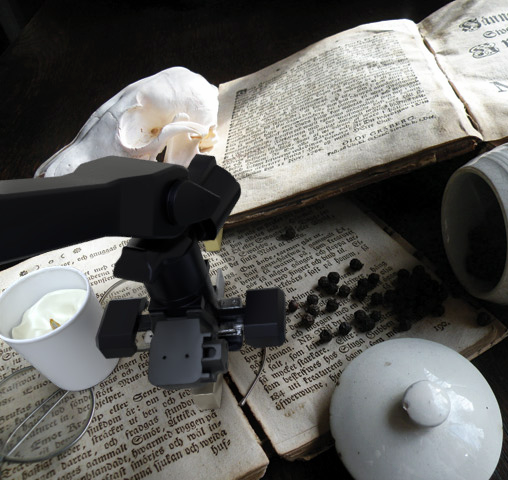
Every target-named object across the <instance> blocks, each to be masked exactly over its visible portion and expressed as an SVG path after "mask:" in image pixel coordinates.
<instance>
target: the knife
mask: <svg viewBox="0 0 508 480" xmlns="http://www.w3.org/2000/svg"><path fill="white" fill-rule="evenodd" d="M215 285H217V288H218V291H219V292H218V301H219V300H220V299H222V298H224V296H225V295H224V294H225V286H226V280H225V277H224V274H223V271H222V268H221V267H217V272H216V278H215ZM223 381H224V373H220V374H219V375H218V376H217V382H215V383H208V384H207V385H206V386H204V387H202V388H191V392H190V397H191V399H192V400H193V402H194V404H195V407H196V408H197V410H198V411H202V410H203V411H204V410H216V409H221V401H222V391H223Z"/></svg>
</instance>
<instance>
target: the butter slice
mask: <svg viewBox="0 0 508 480" xmlns="http://www.w3.org/2000/svg"><path fill="white" fill-rule="evenodd" d="M223 230H224V227H223V228H222V229H221V230H220V232H219V234H218V235H217V237H216V239H215V240H214V241H212V240H210V241H203V244H204V247H205V251H206V252H219V251H221V249H222V248H221V247H222V240H223Z"/></svg>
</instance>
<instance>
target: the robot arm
mask: <svg viewBox="0 0 508 480" xmlns="http://www.w3.org/2000/svg"><path fill="white" fill-rule="evenodd" d="M188 164H189V165H188V166H187V167H186V166H185V165H183V164H177V163H170V162H162V161H156V160H149V159H141V158H135V157H129V156H128V157H127V156H120V155H107V156H106V155H105V156H103V157H100V158H96V159H92V160H89V161H86V162H83V163H80V164H79V165H78V166H77V167H76V168H75V169H74V170H73V171H72V172H69V173H66V174H63V175H59V176H57V175H56V176H44V177H32V178H19V179H5V180H4V179H3V180H0V266H1V265H5V264H8V263H12V262H16V261H19V260H24V259H28V258H32V257H35V256H39V255H42V254H46V253H50V252H55V251H58V250H62V249H66V248H69V247H73V246H76V245H80V244H84V243H87V242H88V243H89V242H92V241H95V240H100V239H103V238H129V240H128V242H127V243H126V245H124V246H122V248H121V253H120V256H119V257H118V259H117V260H116V261H115V263H114V265H113V270H112V277H113V278H114V279H119V280H123V281H130V282H134V283H139V284H143V286H144V288H145V290H146V292H147V294H148V297H149V300H148V297H147V296H135V297H122V298H113V299H109V301H108V302H107V303H106V305H105V307H104V309H103V310H104V313H103V316H102V319H101V322H100V325H99V328H98V331H97V334H96V337H95V340H96V347H97V348H98V350H99V351H100V352H101V354H102V355H103V356H104V357H105V358H106V359H113V358H119V359H125V358H132V357H133V356H134V355H136V354H137V353H138V349H139V347H138V345H137V344H136V340H137V336H138V333H144V338H143V343H144V344H145V345H148V347H149V348H148V366H147V380H148V383H149V384H150V385H152V386H154V387H157V388H159V389H161V390H165V391H174V390H187V389H192V388H202V387H204V386H206V385H207V384H208V383H215V382H217V376H218V375H219V374H220V373H223V374H227V373H228V371H229V353H236V352H239V351H241V349H242V348H243V347H244V343H245V345H246V346H249V347H250V348H251V347H252V348H254V349H265V348H278V347H279V348H280V347H282V346H283V345H284V344H285V343H286V342H287V301H286V293H285V291H284V290H283V289H281V287H279V286H274V287H273V286H272V287H261V288H248V289H246V290H245V298H244V299H245V300H244V301H245V302H244V304H243V299H242V297H241V296H233V297H223V298H222V299H220V300H219V301H218V292H219V291H218V288H217V285H216V284H215V285H214V284H213V282H212V279H211V276H210V270H211V264H210V263H211V262H210V260H209V258H204V256H203V253H202V249H201V247H200V244H199V242H204V241H210V240H212V241H214V240H215V239H216V237H217V235H218V234H219V232H220V230H221V229H222V227H223V228H224V226H225V224H226V222H227V220H228V219H229V217H230V216H231V213H232V212H233V210H234V208H235V207H236V205H237V204H238V202H239V200H240V198H241V195H242V187H241V184H240V182H239V181H238V180H237V179H236V177H234V175H233V174H232V173H231V172H229V171H228V170H227V169H226V168H224V167H223V166H220V165H219V164H218V162H217V159H216V156H215V155H210V154H203V153H196V154H195V155H194V156H193V157H192V159H191V160H190V162H189V163H188ZM145 310H147V312H148V313H145V314H143V312H144V311H145Z"/></svg>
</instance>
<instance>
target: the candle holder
mask: <svg viewBox="0 0 508 480" xmlns="http://www.w3.org/2000/svg"><path fill="white" fill-rule="evenodd" d="M104 310H105V309H104V308H103V307H102V304H101V302H100V301H99V299H98V297H97V295H96V293H95V291H94V289H93V287H92V285H91V283H90V280H89V278H88V276H87V275H86V274H85V273H84V272H83V271H82V270H80V269H78V268H76V267H74V266H70V265H51V266H45V267H42V268H39V269H36V270H33V271H30V272H29V273H27V274H24V275H23V276H21V277H20V278H18V279H16V280H14V281H13V282H12V283H11V284H10V285H8V286H7V287H6V288H5V289H4V290H3V291H2V292H1V293H0V340H2V341H3V342H4V343H5V344H7V345H8V346H9V347H10V348H11V349H12V350H14V351H15V352H16V353H17V354H18V355H19V356H20V357H22V358H23V359H24V360H25V361H26V362H27V363H29V364H30V365H31V366H32V367H33V368H34V369H35V370H37V371H38V372H39V373H40V374H41V375H42V376H44V377H45V378H46V379H47V380H48V381H50V382H51V383H52V384H54V385H55V386H56V387H58V389H59V388H60V389H61V390H64V391H68V392H78V391H85V390H87V389H88V390H89V388H92V387H94V386H96V385H98V384H100V383H102V382H103V381H104V380H105V379H106V378H107V377H109V376H110V375H111V374H112V373H113V371H114V370H115V368H116V367H117V365H118V363H119V361H120V358H113V359H106V358H105V357H104V356H103V355H102V354H101V352H100V351H99V350H98V348H97V347H96V340H95V337H96V334H97V331H98V328H99V325H100V322H101V319H102V316H103V313H104Z"/></svg>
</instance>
